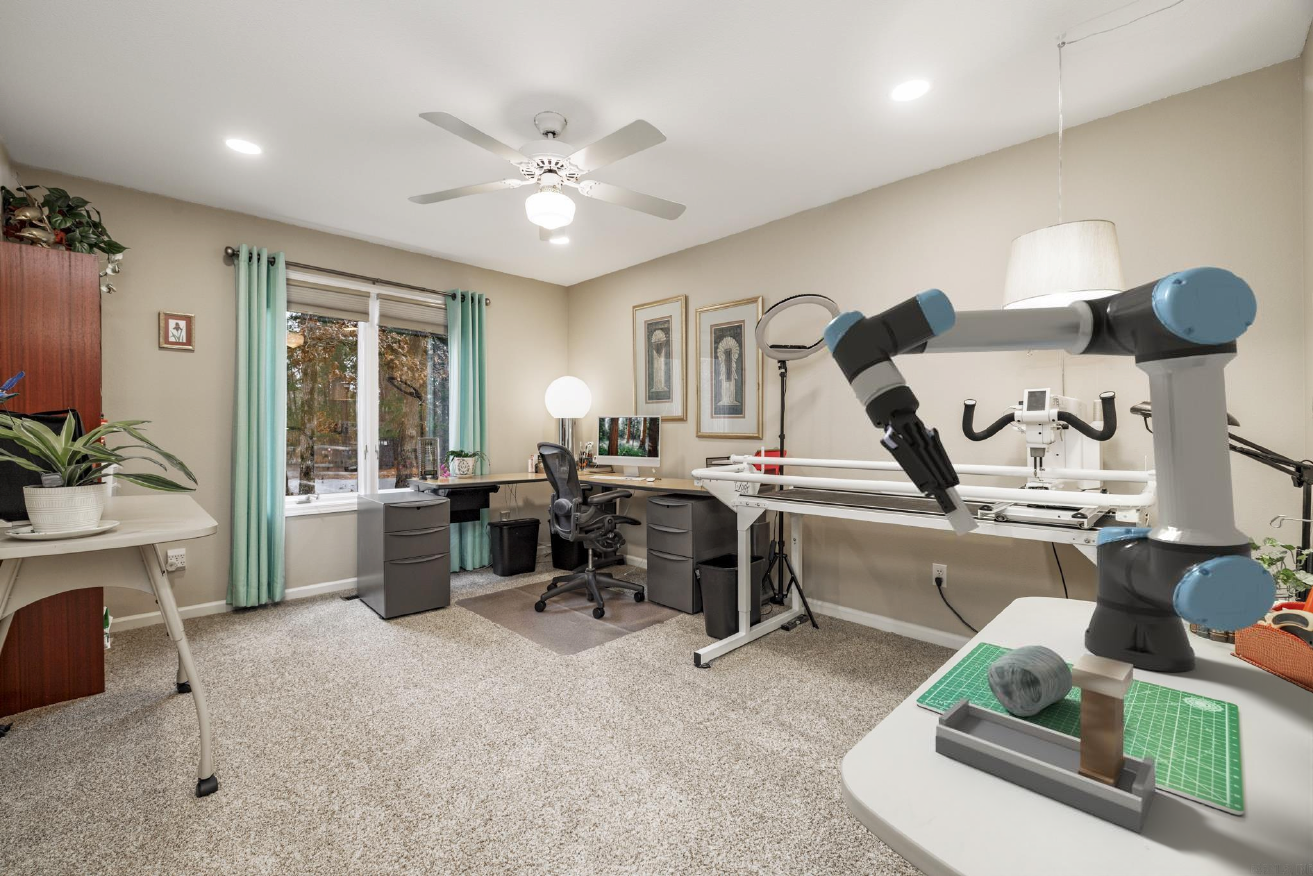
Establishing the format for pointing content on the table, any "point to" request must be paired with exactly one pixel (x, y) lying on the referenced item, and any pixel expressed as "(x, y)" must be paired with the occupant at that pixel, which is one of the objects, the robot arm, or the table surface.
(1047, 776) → the gray rectangular tray
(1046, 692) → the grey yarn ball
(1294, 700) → the table surface
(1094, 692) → the block
